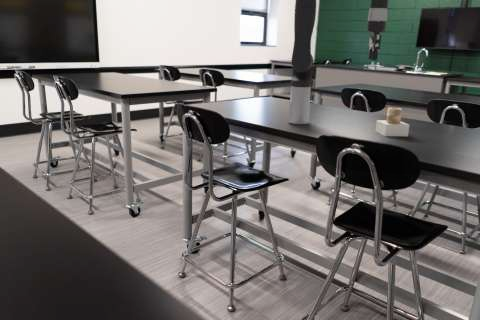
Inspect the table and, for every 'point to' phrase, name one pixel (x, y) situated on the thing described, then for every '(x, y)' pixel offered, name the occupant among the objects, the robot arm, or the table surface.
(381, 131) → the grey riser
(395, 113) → the beech block
